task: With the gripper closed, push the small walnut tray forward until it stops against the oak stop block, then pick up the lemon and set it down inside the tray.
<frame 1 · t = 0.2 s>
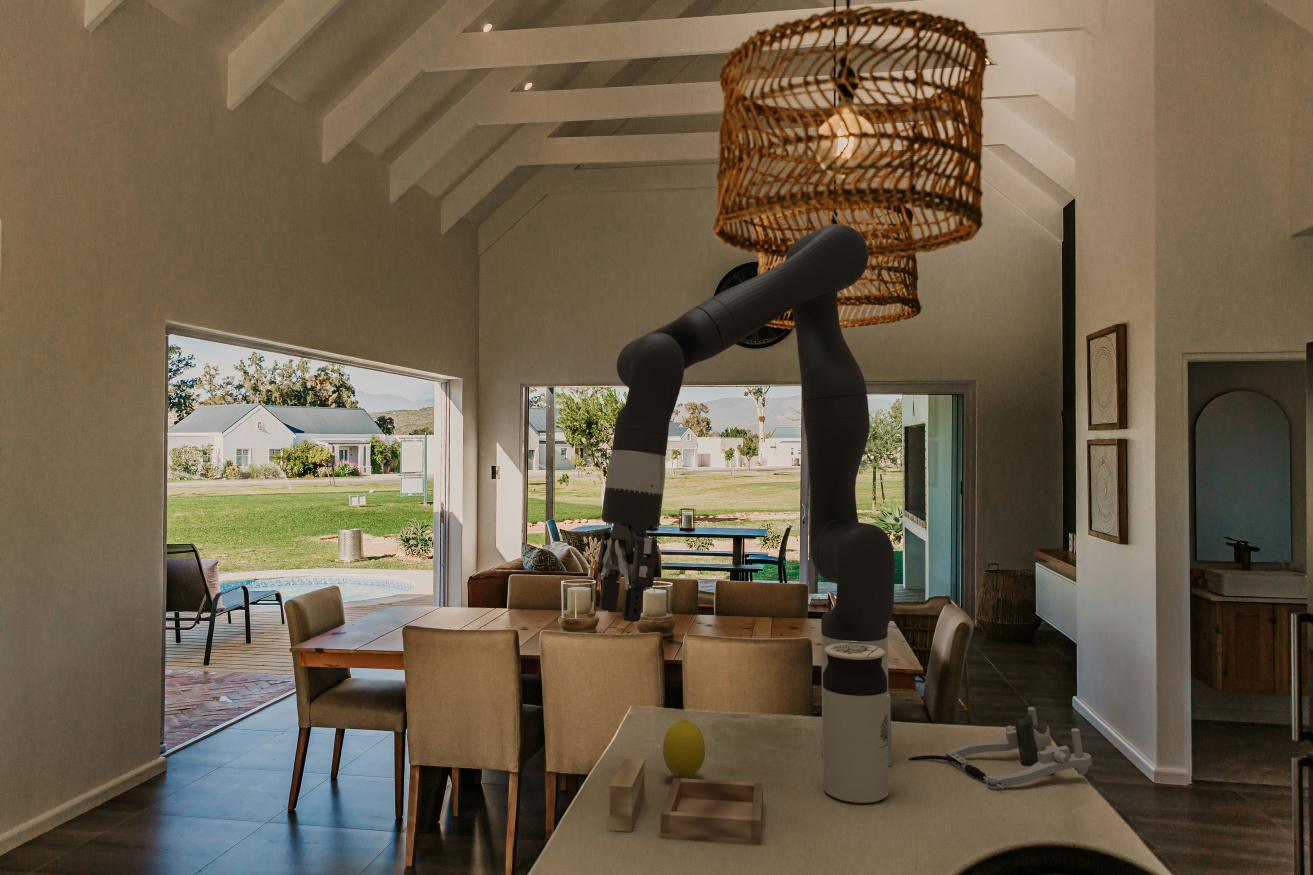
hand: (618, 615, 106), 22 cm above the kitchen island, fingers open, 8 cm apart
travel mug: (855, 793, 106), on the kitchen island
lemon: (684, 781, 110), on the kitchen island
bike brake: (1000, 775, 113), on the kitchen island
oak stop: (627, 814, 99), on the kitchen island
walnut tray: (714, 823, 98), on the kitchen island
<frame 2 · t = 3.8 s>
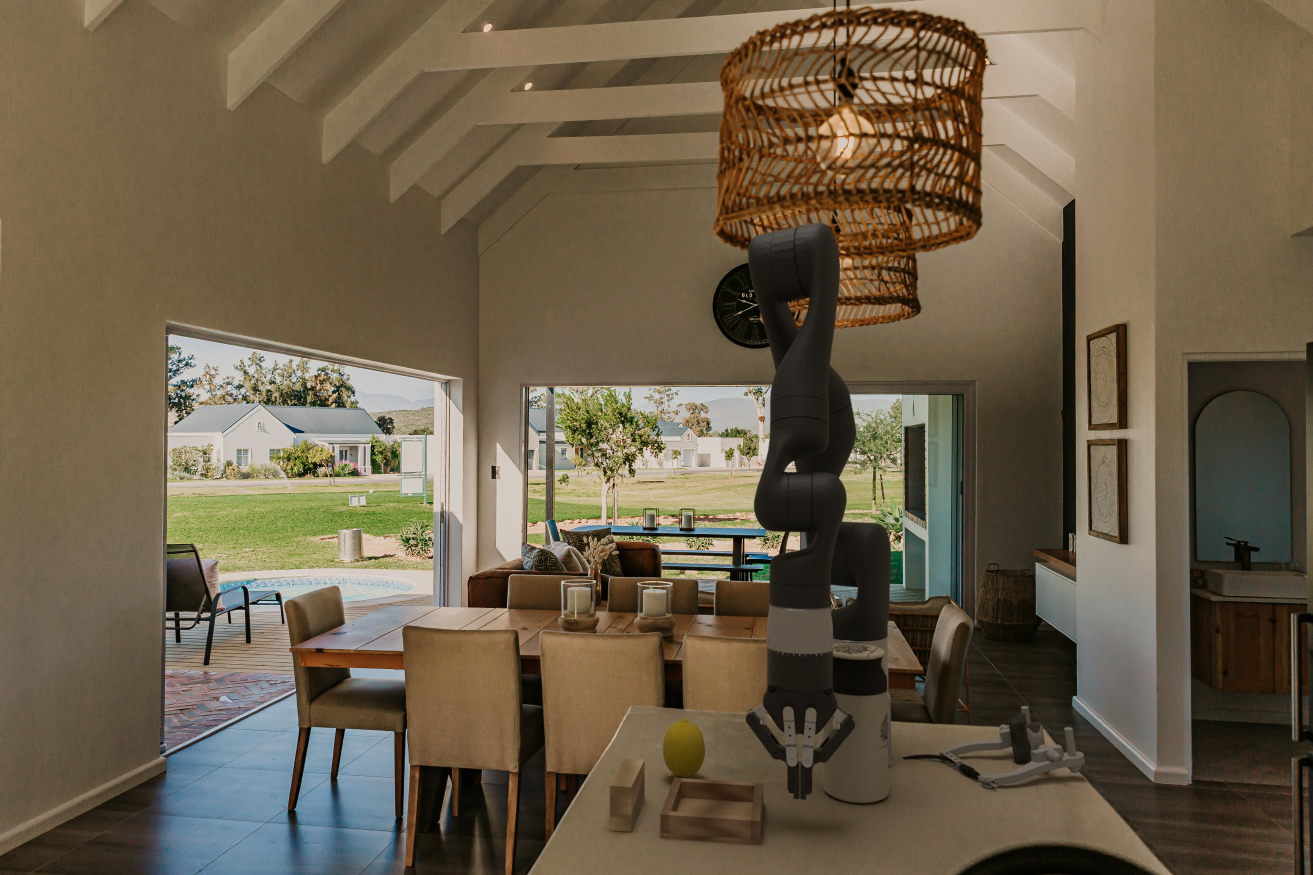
hand: (799, 796, 96), 3 cm above the kitchen island, fingers closed
nothing on the kitchen island moved.
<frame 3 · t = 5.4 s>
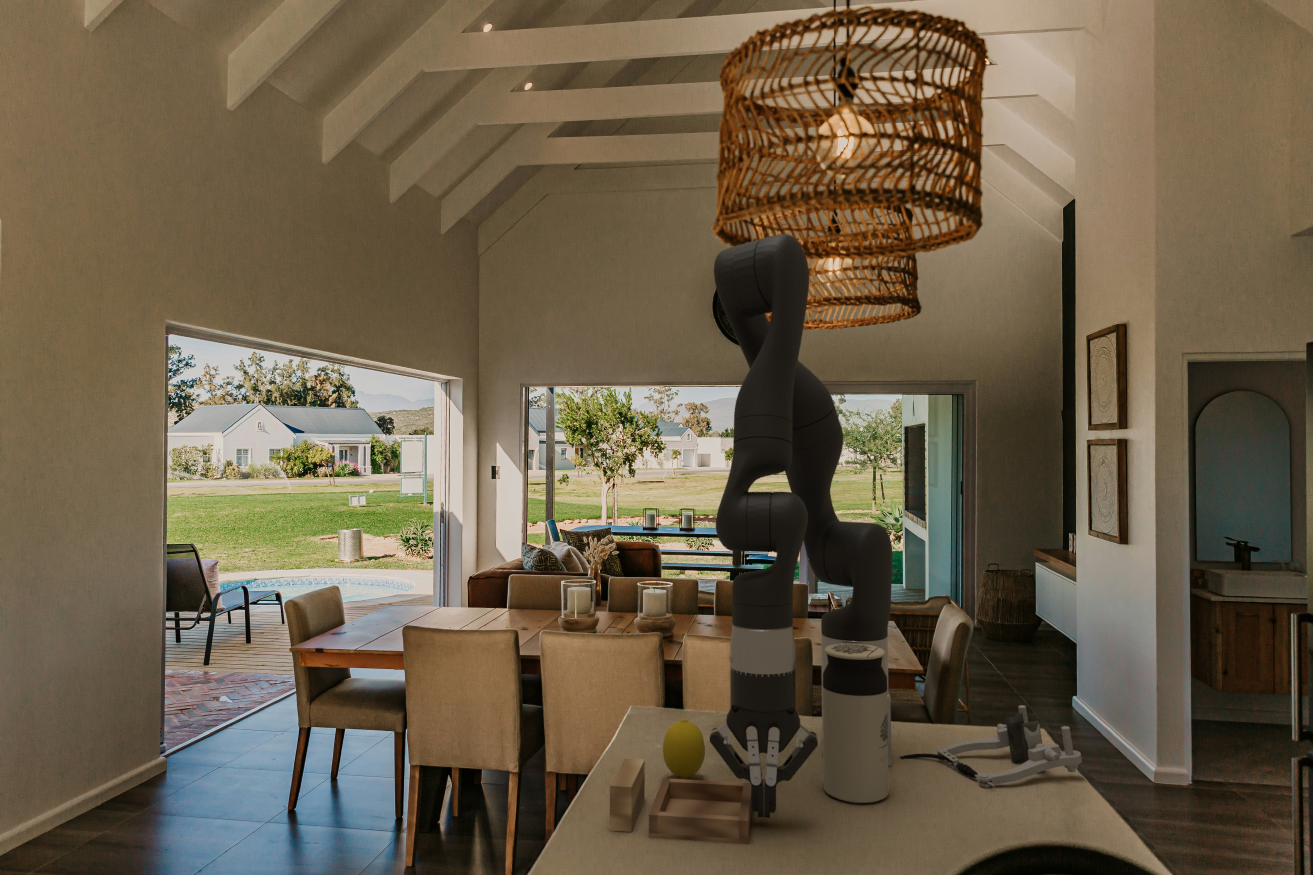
hand: (763, 814, 97), 1 cm above the kitchen island, fingers closed
walnut tray: (702, 824, 98), on the kitchen island
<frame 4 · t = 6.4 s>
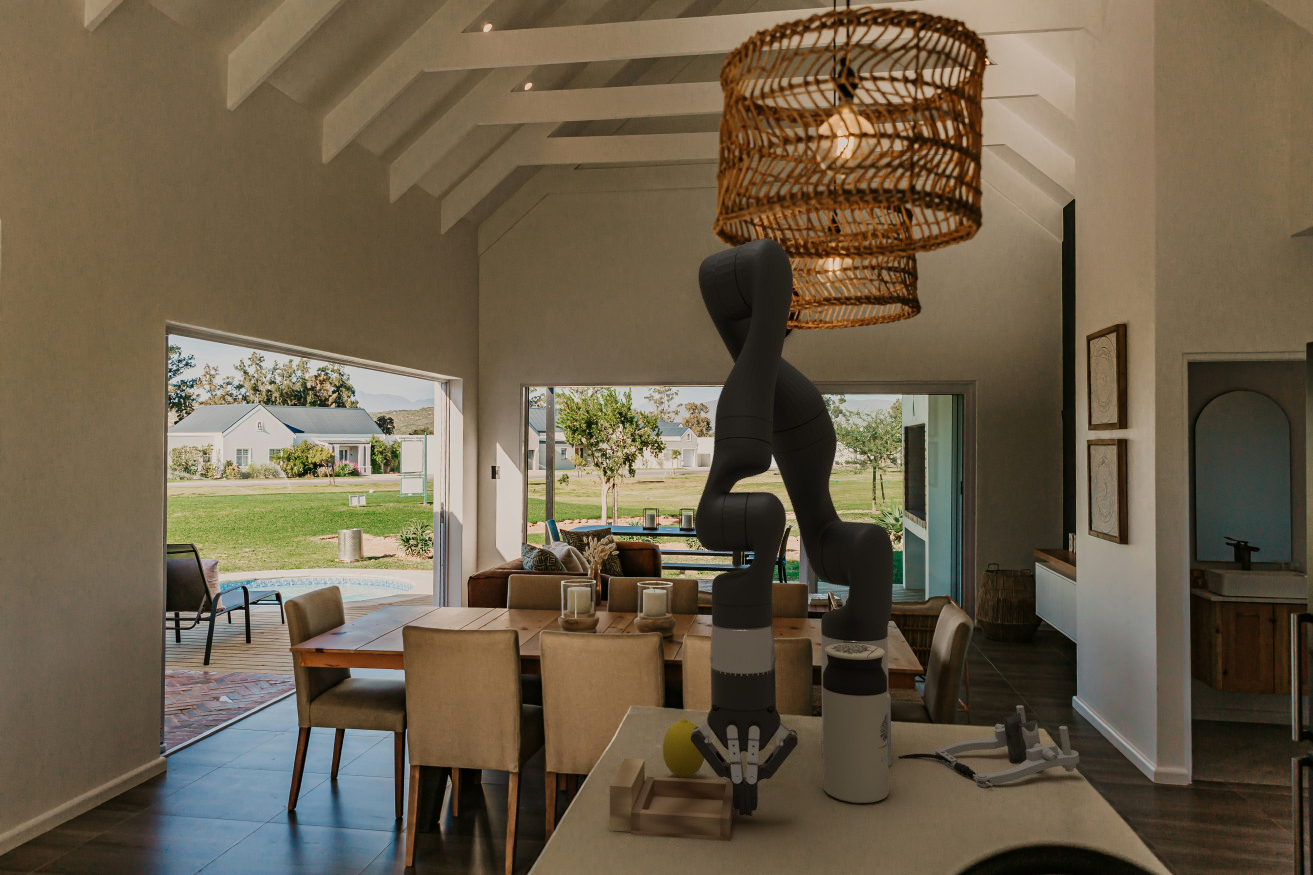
hand: (745, 812, 97), 1 cm above the kitchen island, fingers closed
walnut tray: (685, 821, 99), on the kitchen island, touching gripper
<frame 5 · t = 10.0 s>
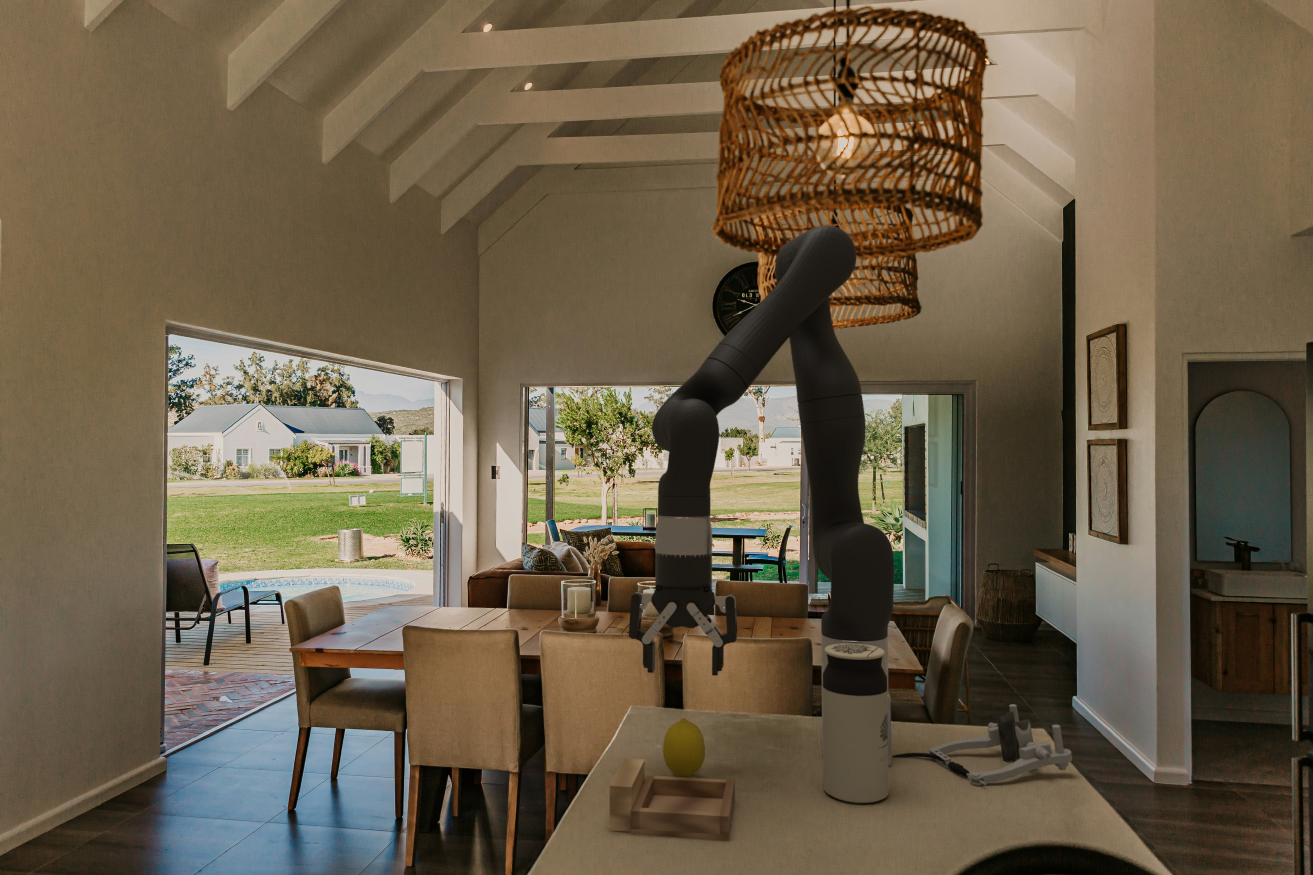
hand: (682, 672, 111), 14 cm above the kitchen island, fingers open, 8 cm apart
walnut tray: (685, 820, 99), on the kitchen island
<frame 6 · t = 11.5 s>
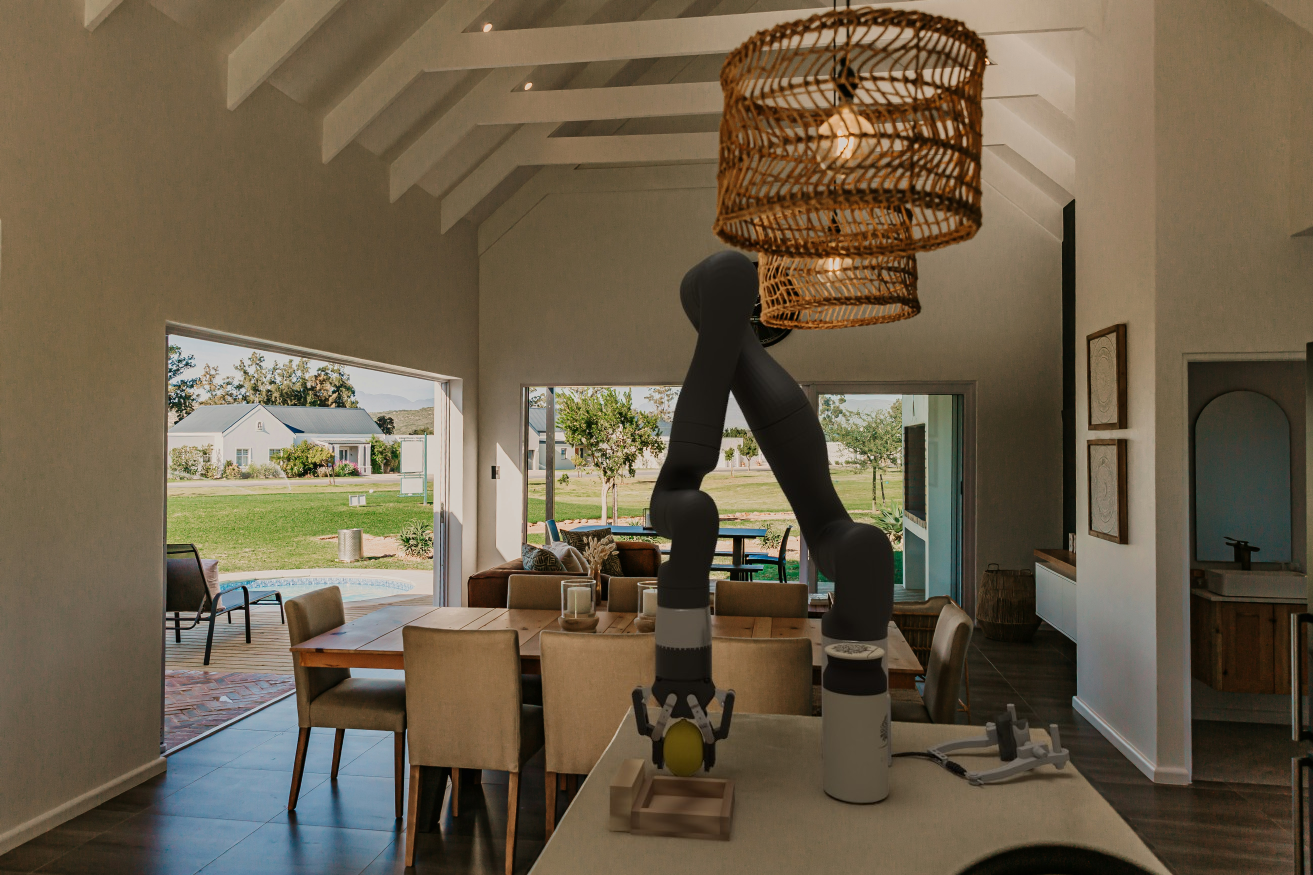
hand: (683, 768, 110), 2 cm above the kitchen island, fingers closed on lemon, 5 cm apart
lemon: (684, 781, 110), on the kitchen island, touching gripper
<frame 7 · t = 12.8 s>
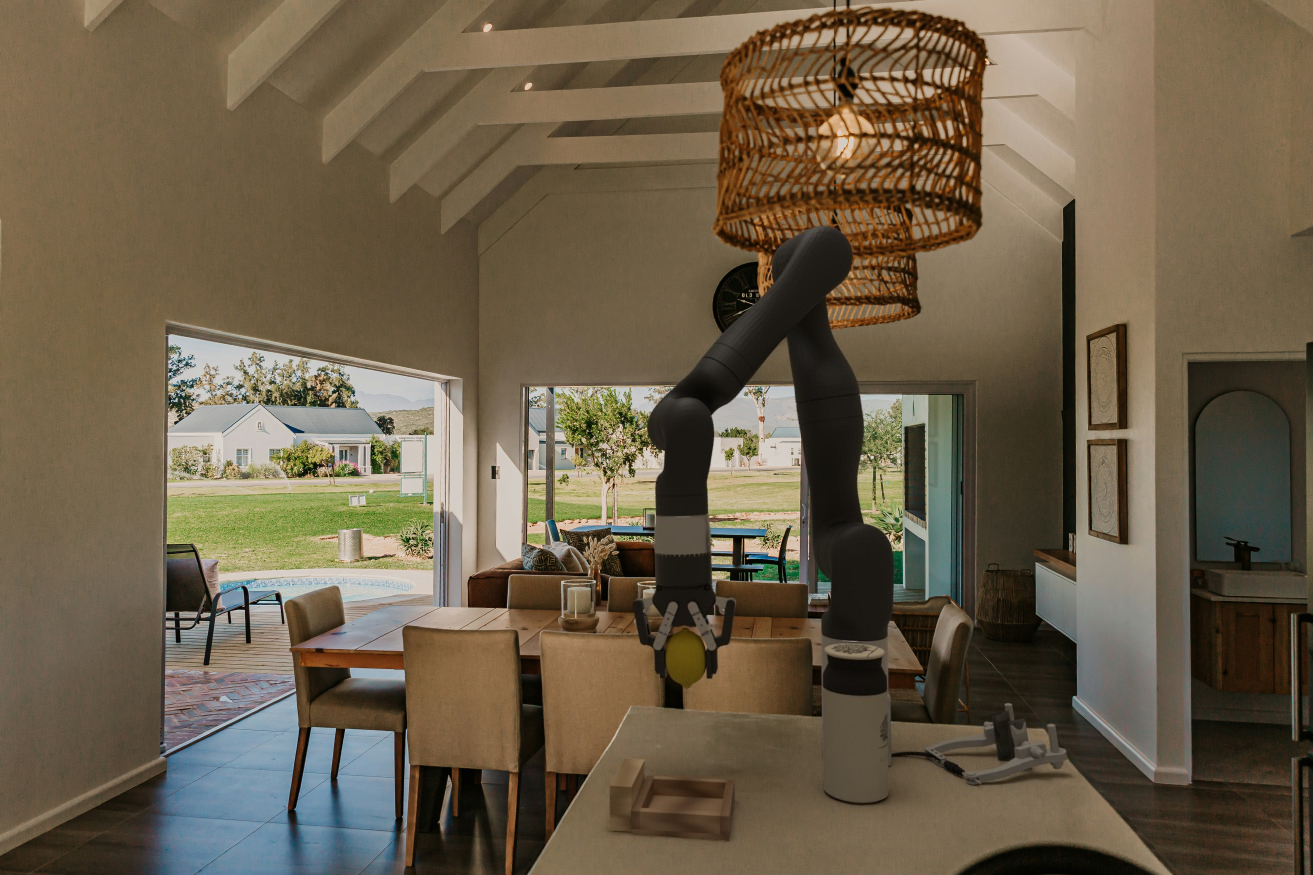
hand: (686, 676, 111), 13 cm above the kitchen island, fingers closed on lemon, 5 cm apart
lemon: (687, 690, 111), point 12 cm above the kitchen island, touching gripper
when the fingers open (4 cm above the kitchen island, at t = 16.4 s): lemon drops 3 cm, resting on walnut tray.
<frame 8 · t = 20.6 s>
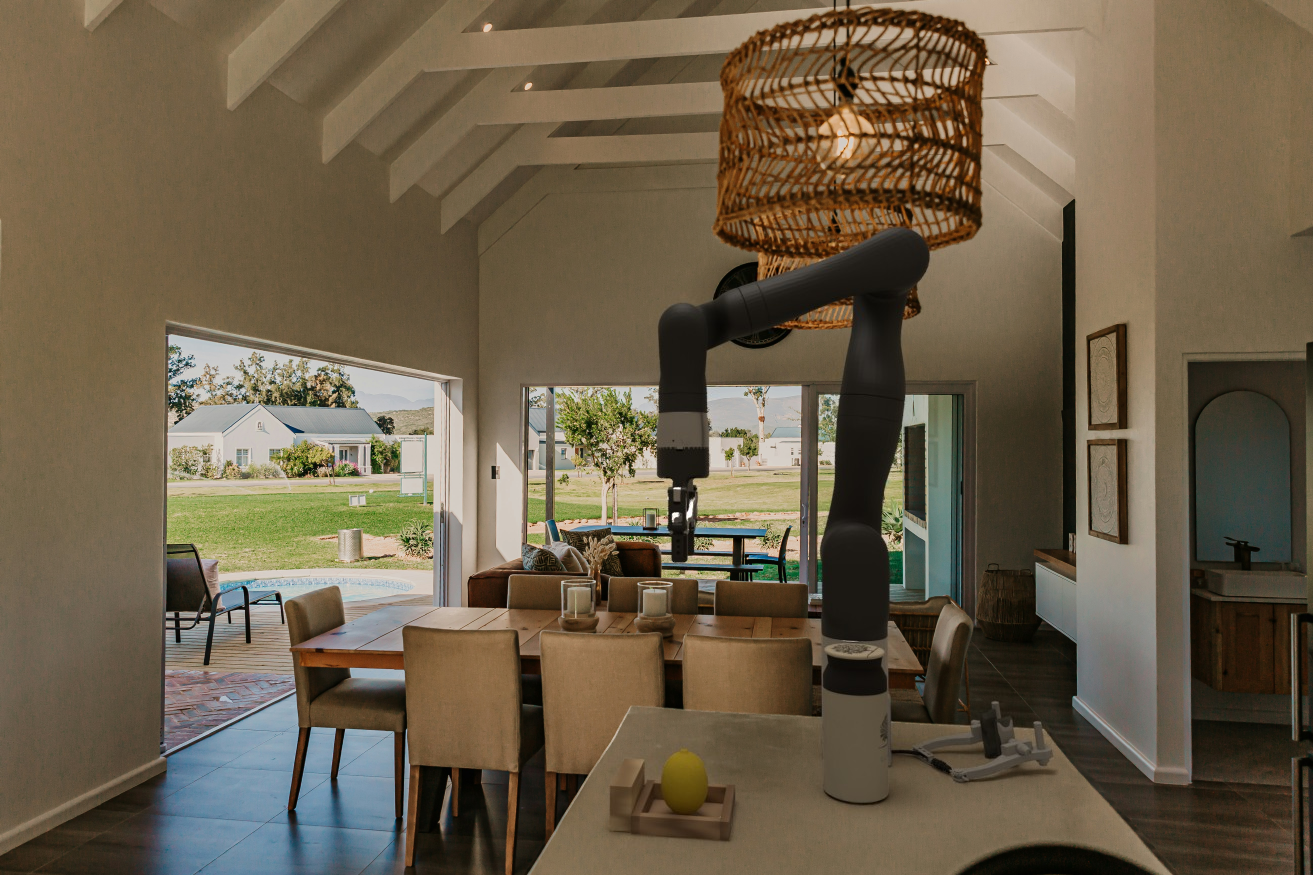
hand: (683, 558, 119), 28 cm above the kitchen island, fingers open, 8 cm apart
lemon: (684, 819, 98), resting on walnut tray
bike brake: (965, 768, 116), on the kitchen island
walnut tray: (685, 825, 99), on the kitchen island, touching lemon
everything else where it was.
at the end: walnut tray 0.6 cm from the target spot, on the kitchen island; lemon 0.4 cm from the walnut tray (horizontally); lemon resting in walnut tray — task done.
